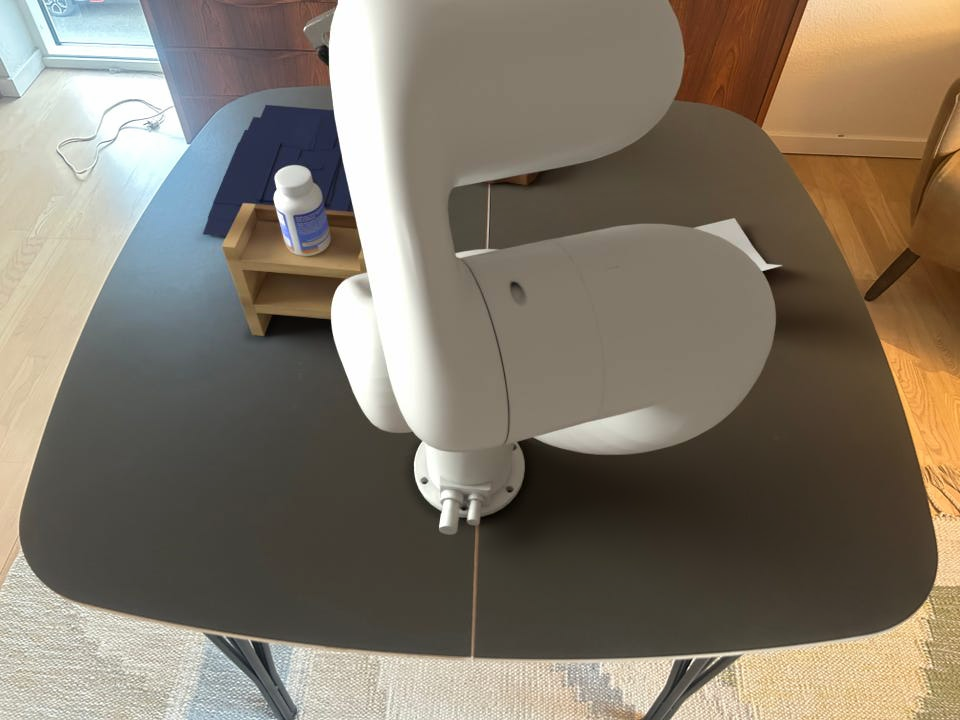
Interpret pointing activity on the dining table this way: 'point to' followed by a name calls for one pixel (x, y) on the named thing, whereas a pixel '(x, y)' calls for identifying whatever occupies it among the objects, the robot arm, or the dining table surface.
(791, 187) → the dining table surface
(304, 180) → the pill bottle
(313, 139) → the folded navy cloth
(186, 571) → the dining table surface
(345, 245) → the rack
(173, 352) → the dining table surface
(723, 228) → the folded paper
